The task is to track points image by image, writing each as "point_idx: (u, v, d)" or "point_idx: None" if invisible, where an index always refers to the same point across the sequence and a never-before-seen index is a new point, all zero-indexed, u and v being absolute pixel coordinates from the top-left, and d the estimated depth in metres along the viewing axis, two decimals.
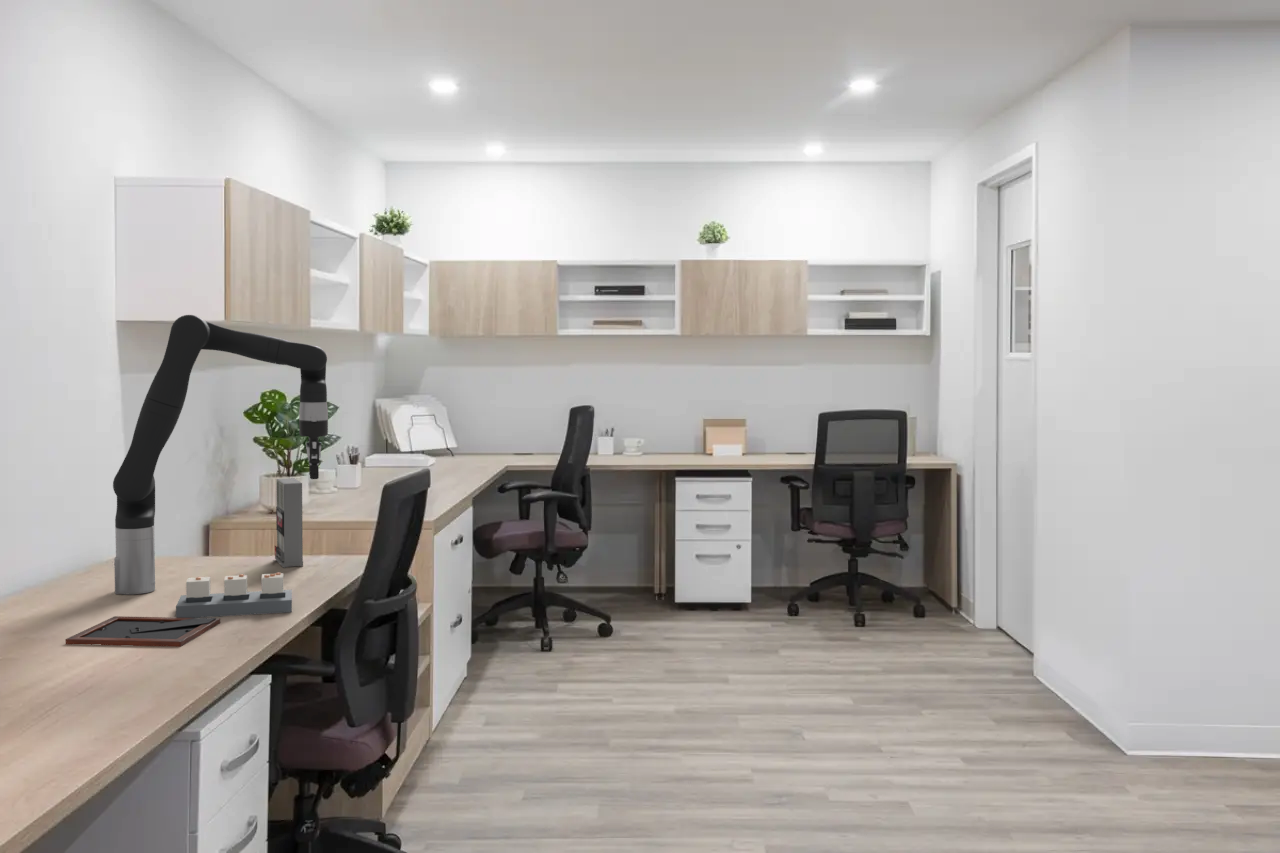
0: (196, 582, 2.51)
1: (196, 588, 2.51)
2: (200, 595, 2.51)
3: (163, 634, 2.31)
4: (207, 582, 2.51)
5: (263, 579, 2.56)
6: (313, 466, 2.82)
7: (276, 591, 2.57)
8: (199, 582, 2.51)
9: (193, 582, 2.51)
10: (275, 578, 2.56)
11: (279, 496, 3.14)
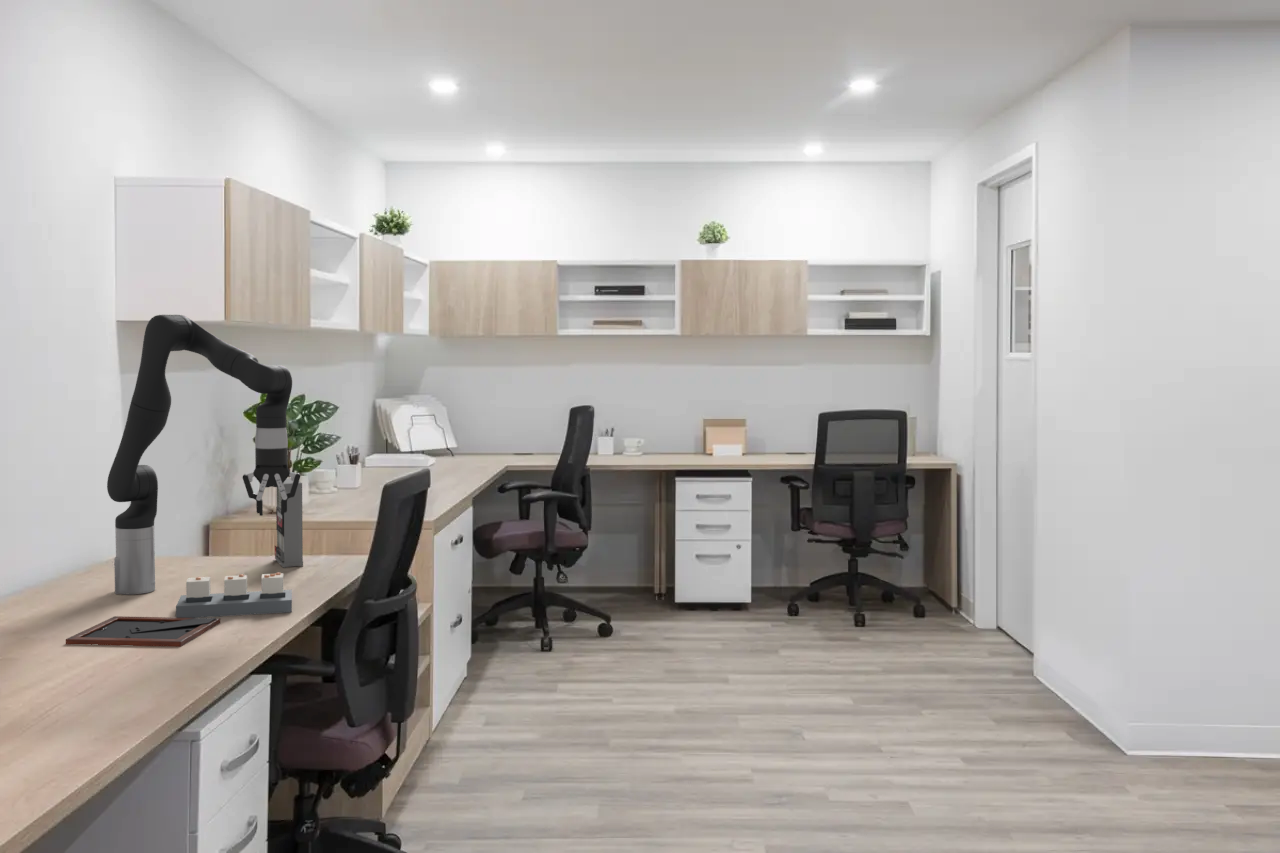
0: (196, 582, 2.51)
1: (196, 588, 2.51)
2: (200, 595, 2.51)
3: (163, 634, 2.31)
4: (207, 582, 2.51)
5: (263, 579, 2.56)
6: None
7: (276, 591, 2.57)
8: (199, 582, 2.51)
9: (193, 582, 2.51)
10: (275, 578, 2.56)
11: (279, 496, 3.14)
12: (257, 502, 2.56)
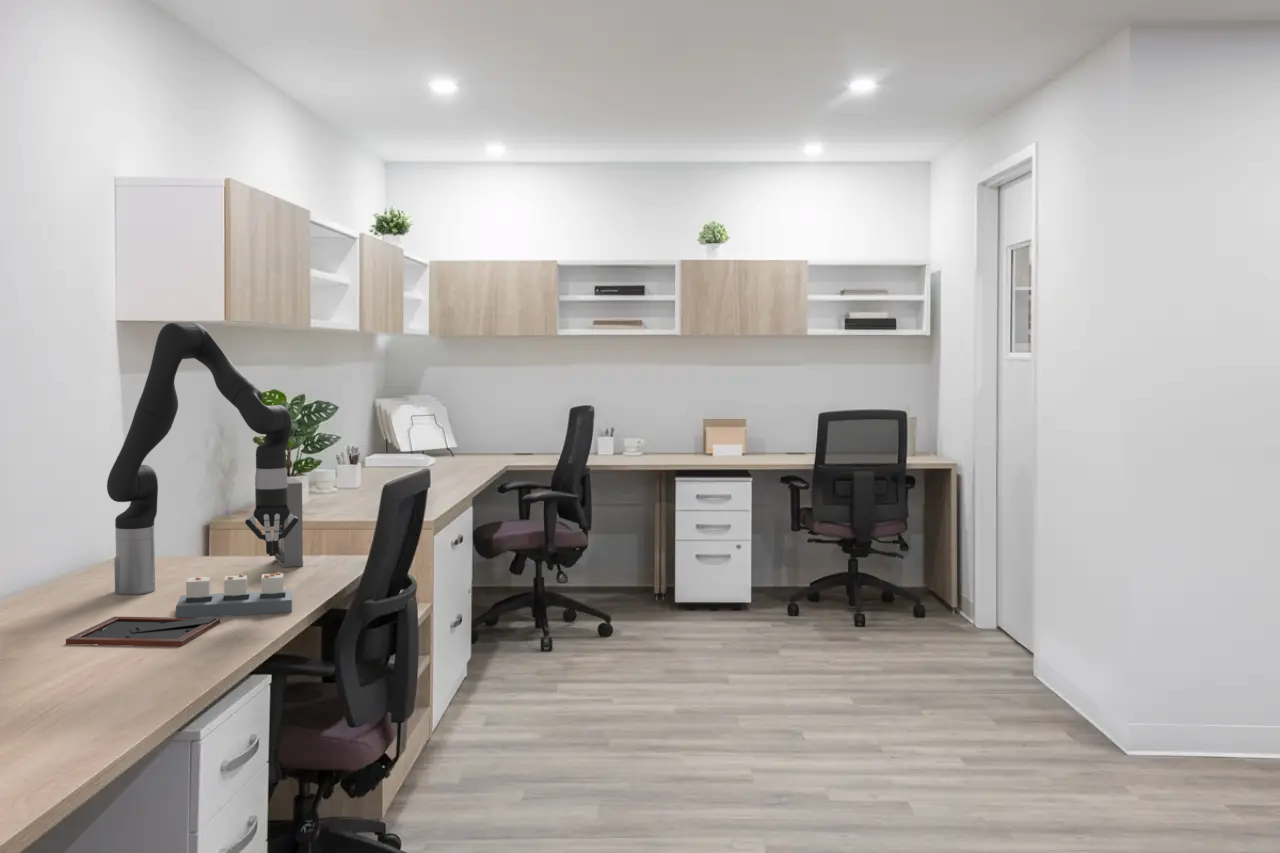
0: (196, 582, 2.51)
1: (196, 588, 2.51)
2: (200, 595, 2.51)
3: (163, 634, 2.31)
4: (207, 582, 2.51)
5: (263, 579, 2.56)
6: None
7: (276, 591, 2.57)
8: (199, 582, 2.51)
9: (193, 582, 2.51)
10: (275, 578, 2.56)
11: None
12: (267, 543, 2.57)
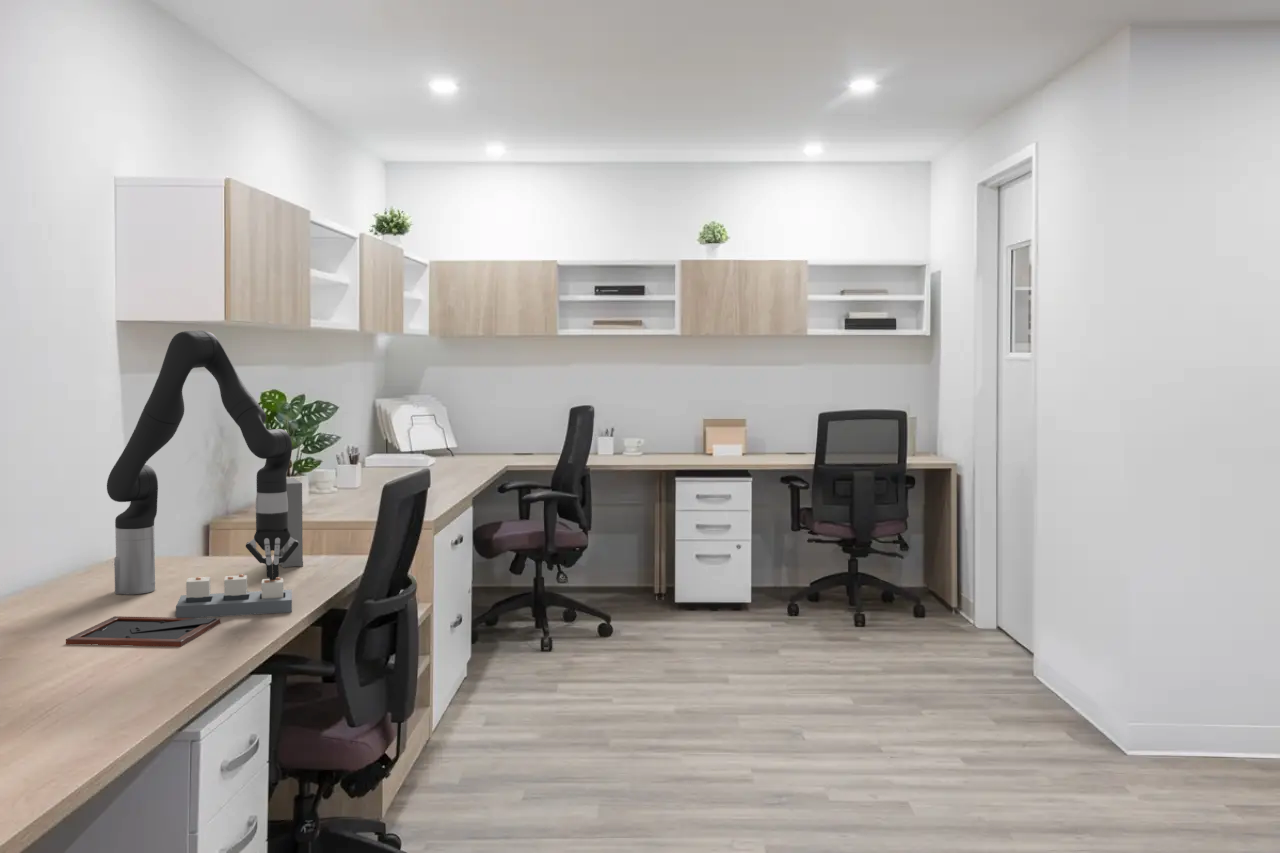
0: (196, 582, 2.51)
1: (196, 588, 2.51)
2: (200, 595, 2.51)
3: (163, 634, 2.31)
4: (207, 582, 2.51)
5: (263, 584, 2.56)
6: (278, 565, 2.58)
7: (276, 596, 2.57)
8: (199, 582, 2.51)
9: (193, 582, 2.51)
10: (275, 583, 2.57)
11: None
12: (267, 567, 2.57)
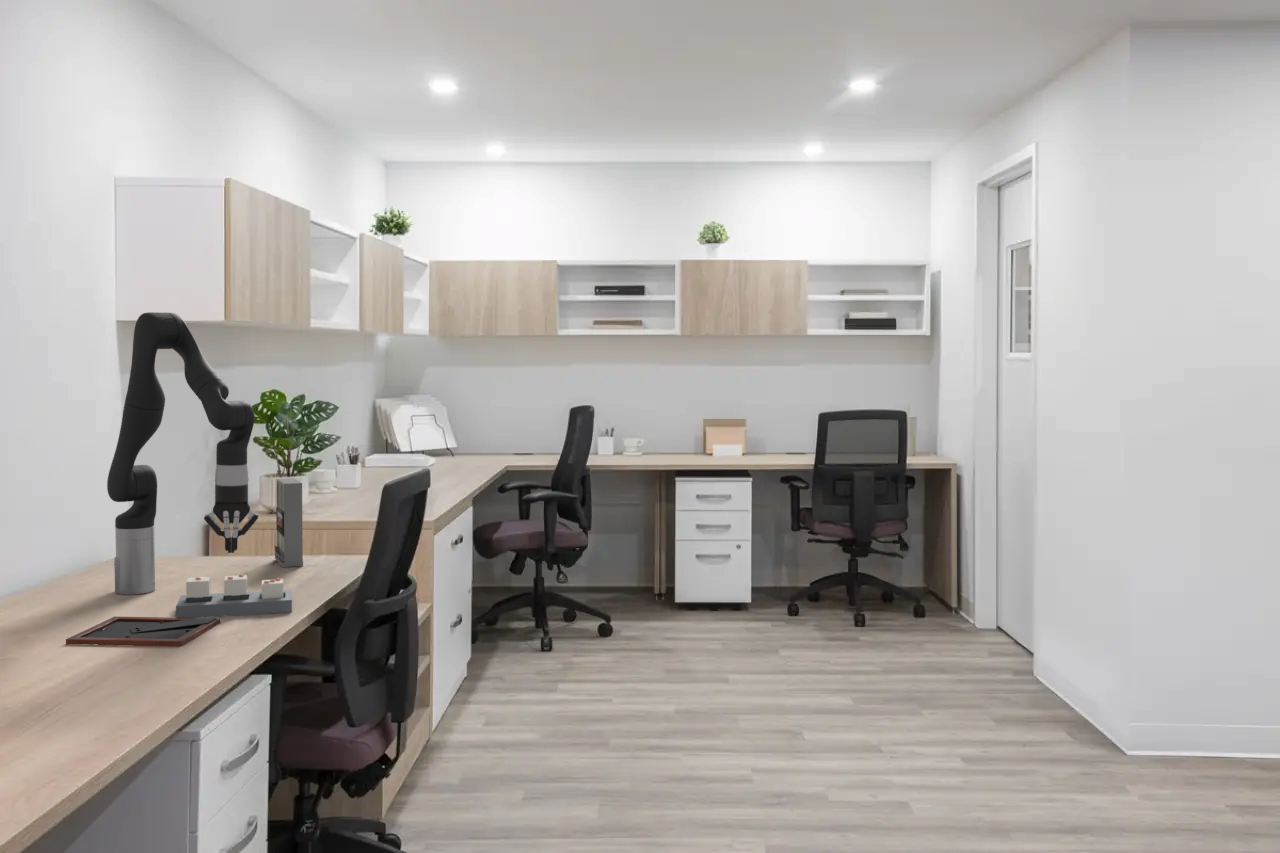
0: (196, 582, 2.51)
1: (196, 588, 2.51)
2: (200, 595, 2.51)
3: (163, 634, 2.31)
4: (207, 582, 2.51)
5: (263, 585, 2.56)
6: None
7: (276, 597, 2.57)
8: (199, 582, 2.51)
9: (193, 582, 2.51)
10: (275, 584, 2.57)
11: (279, 496, 3.14)
12: (226, 539, 2.55)
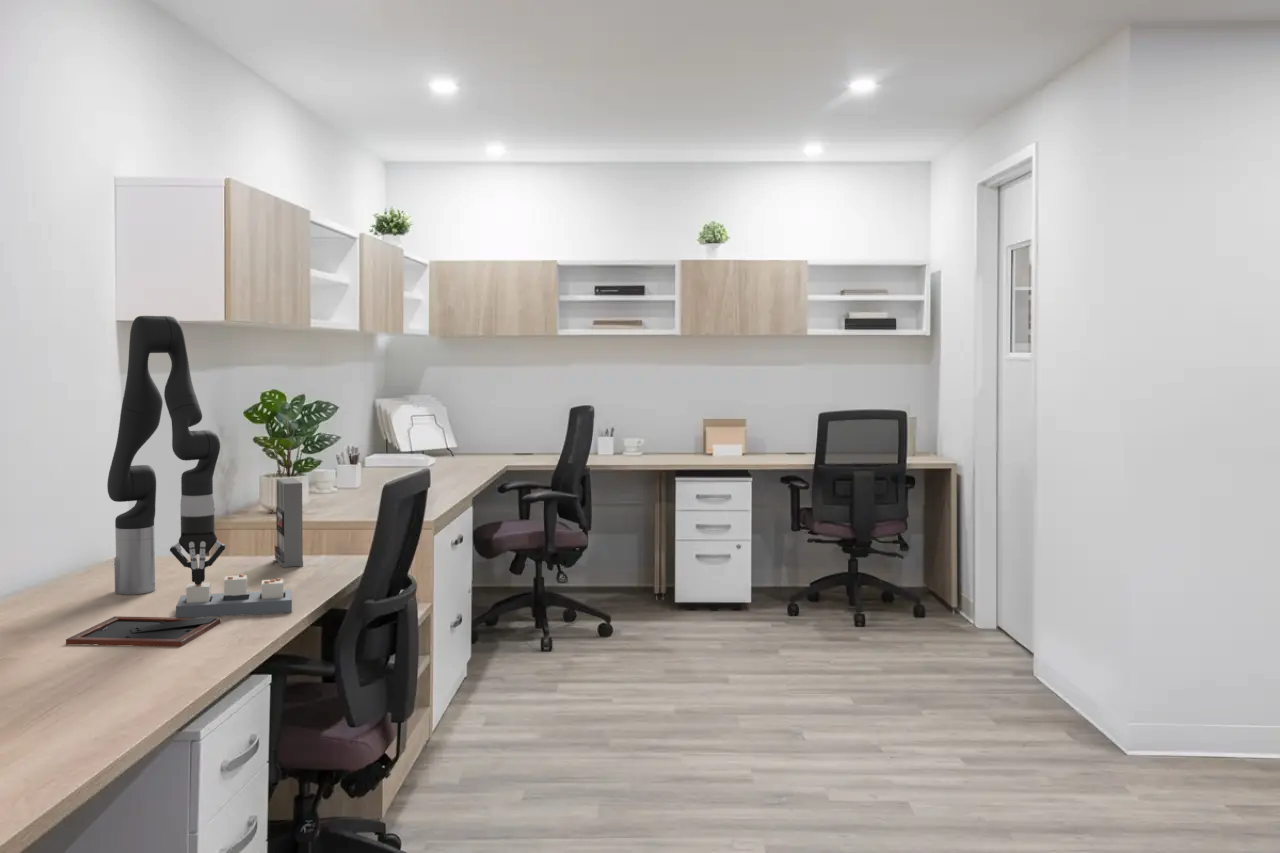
0: (196, 588, 2.51)
1: (196, 594, 2.51)
2: (200, 601, 2.51)
3: (163, 634, 2.31)
4: (207, 588, 2.52)
5: (263, 585, 2.56)
6: (204, 569, 2.53)
7: (276, 597, 2.57)
8: (199, 588, 2.51)
9: (193, 588, 2.51)
10: (275, 584, 2.57)
11: (279, 496, 3.14)
12: (192, 571, 2.52)
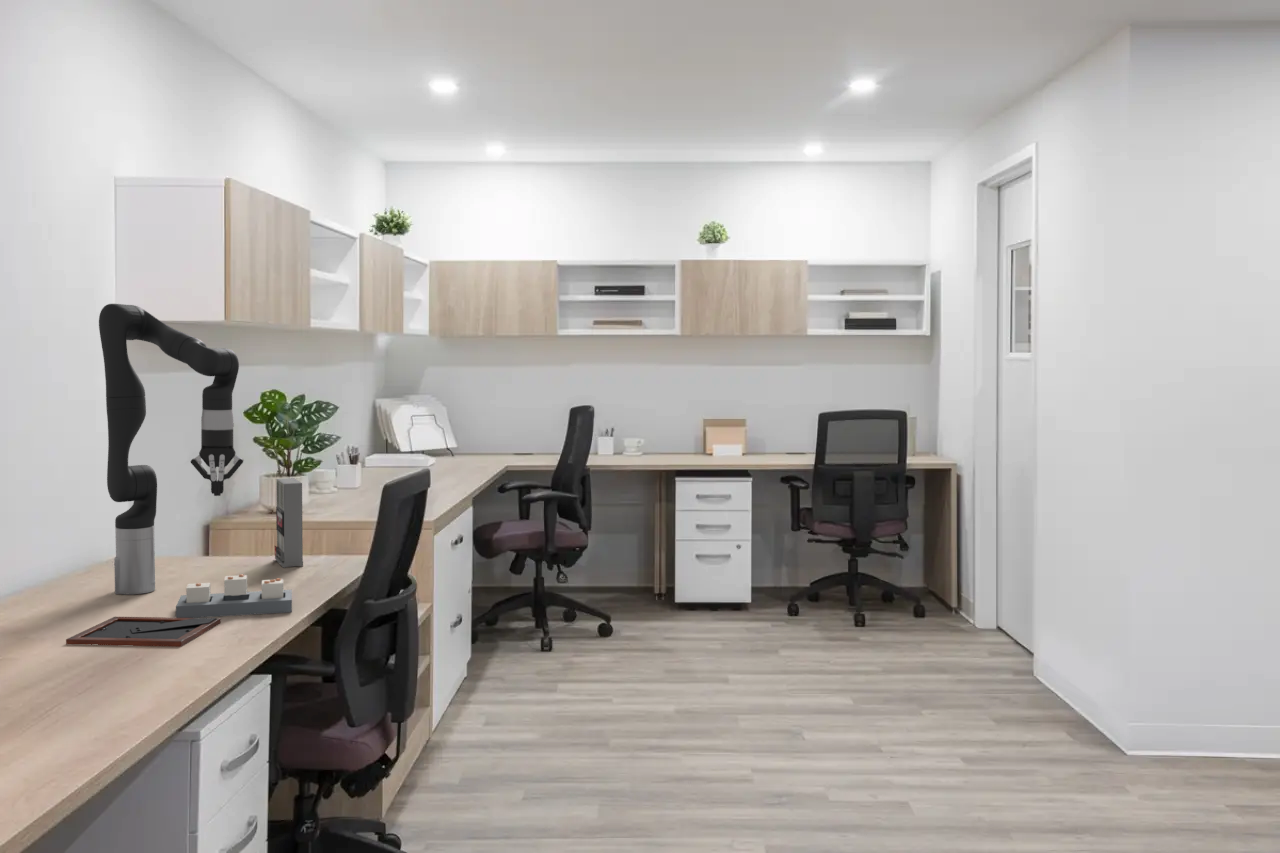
0: (196, 588, 2.51)
1: (196, 594, 2.51)
2: (200, 601, 2.51)
3: (164, 634, 2.31)
4: (207, 588, 2.52)
5: (263, 585, 2.56)
6: (223, 481, 2.64)
7: (276, 597, 2.57)
8: (199, 588, 2.51)
9: (193, 588, 2.51)
10: (275, 584, 2.57)
11: (279, 496, 3.14)
12: (212, 483, 2.63)
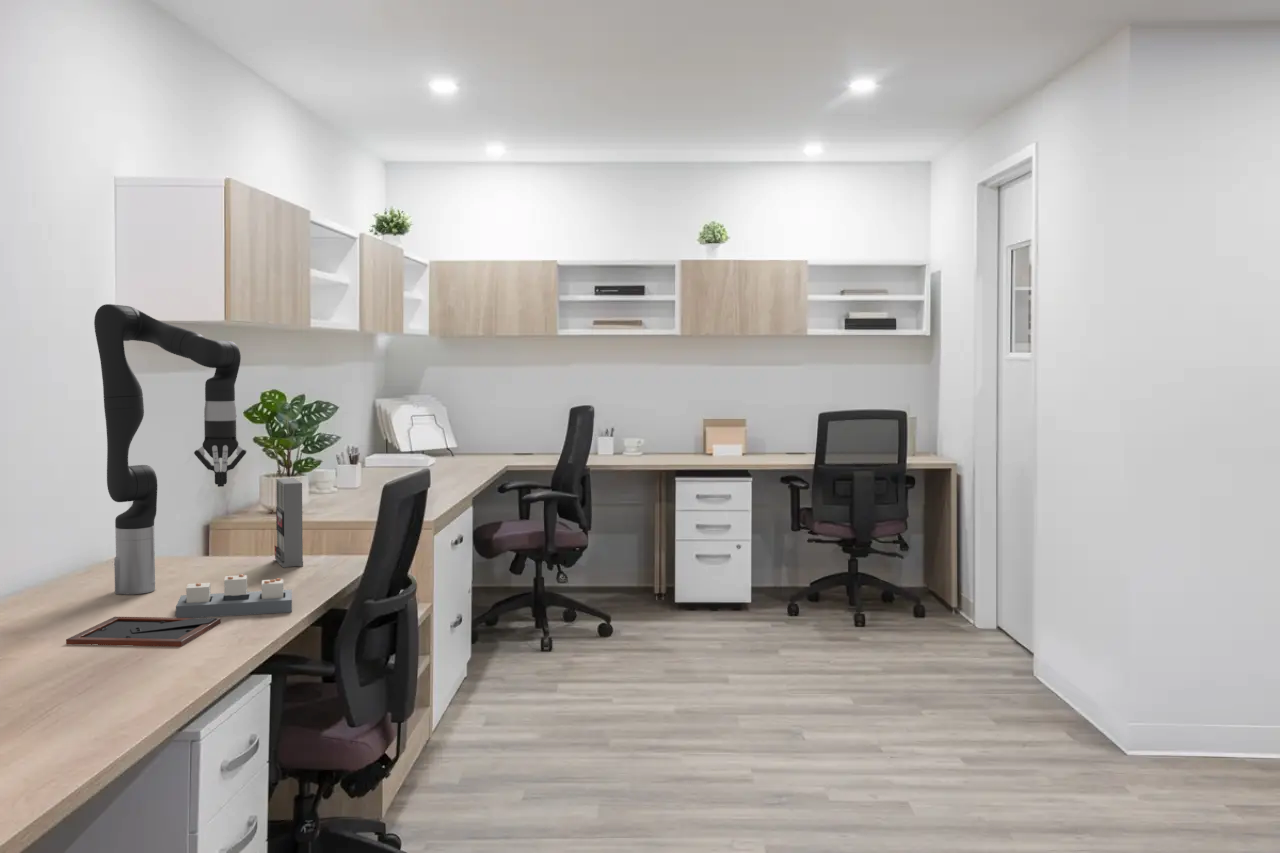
0: (196, 588, 2.51)
1: (196, 594, 2.51)
2: (200, 601, 2.51)
3: (164, 634, 2.31)
4: (207, 588, 2.52)
5: (263, 585, 2.56)
6: (226, 472, 2.66)
7: (276, 597, 2.57)
8: (199, 588, 2.51)
9: (193, 588, 2.51)
10: (275, 584, 2.57)
11: (279, 496, 3.14)
12: (215, 473, 2.65)
